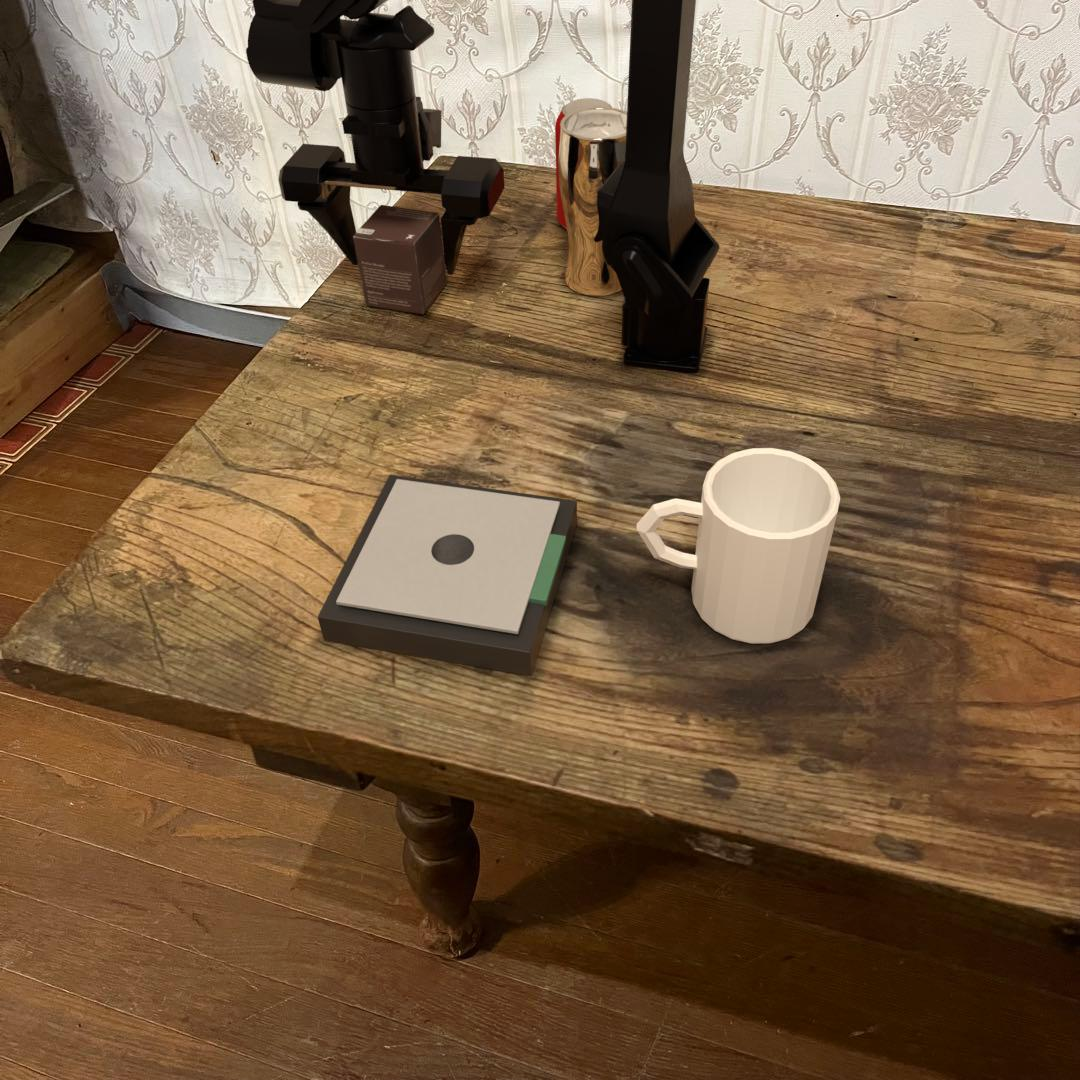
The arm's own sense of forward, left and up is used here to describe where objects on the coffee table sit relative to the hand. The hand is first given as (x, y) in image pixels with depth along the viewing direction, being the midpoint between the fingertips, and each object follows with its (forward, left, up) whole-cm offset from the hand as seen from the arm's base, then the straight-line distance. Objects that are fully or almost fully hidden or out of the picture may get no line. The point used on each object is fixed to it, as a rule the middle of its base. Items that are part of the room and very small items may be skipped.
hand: (403, 268), depth 95 cm
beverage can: (-14, -16, -3) cm, 21 cm away
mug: (-33, +32, -3) cm, 46 cm away
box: (0, 0, -3) cm, 3 cm away
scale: (-15, +34, -3) cm, 37 cm away
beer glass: (-17, -6, -3) cm, 18 cm away
